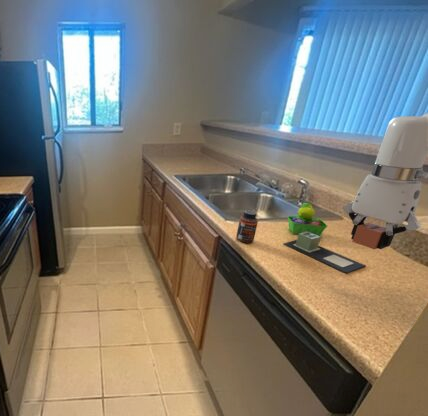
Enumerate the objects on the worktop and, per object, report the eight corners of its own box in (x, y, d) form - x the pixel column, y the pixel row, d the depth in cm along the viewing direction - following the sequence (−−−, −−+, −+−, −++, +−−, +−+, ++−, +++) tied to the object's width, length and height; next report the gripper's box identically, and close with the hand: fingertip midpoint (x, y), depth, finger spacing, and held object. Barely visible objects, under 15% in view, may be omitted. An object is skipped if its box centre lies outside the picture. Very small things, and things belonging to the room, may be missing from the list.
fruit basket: (289, 234, 107) (297, 207, 103) (283, 225, 115) (290, 200, 111) (324, 238, 104) (333, 211, 100) (315, 229, 111) (323, 203, 107)
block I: (384, 245, 68) (391, 228, 67) (374, 249, 67) (381, 232, 65) (362, 238, 72) (368, 222, 71) (352, 241, 71) (357, 225, 69)
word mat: (365, 266, 86) (366, 265, 86) (345, 273, 82) (346, 272, 82) (301, 239, 103) (301, 238, 103) (283, 244, 100) (283, 243, 100)
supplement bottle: (240, 243, 100) (246, 215, 96) (233, 236, 106) (238, 209, 102) (256, 243, 101) (262, 215, 96) (248, 236, 106) (253, 209, 102)
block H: (317, 248, 96) (321, 236, 94) (308, 250, 94) (312, 238, 93) (303, 242, 100) (307, 231, 98) (295, 245, 98) (298, 233, 97)
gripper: (457, 179, 57) (422, 255, 64) (359, 164, 72) (339, 227, 78) (440, 183, 54) (405, 262, 61) (342, 167, 69) (322, 232, 75)
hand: (368, 242), depth 69 cm, fingers closed on block I, 4 cm apart
